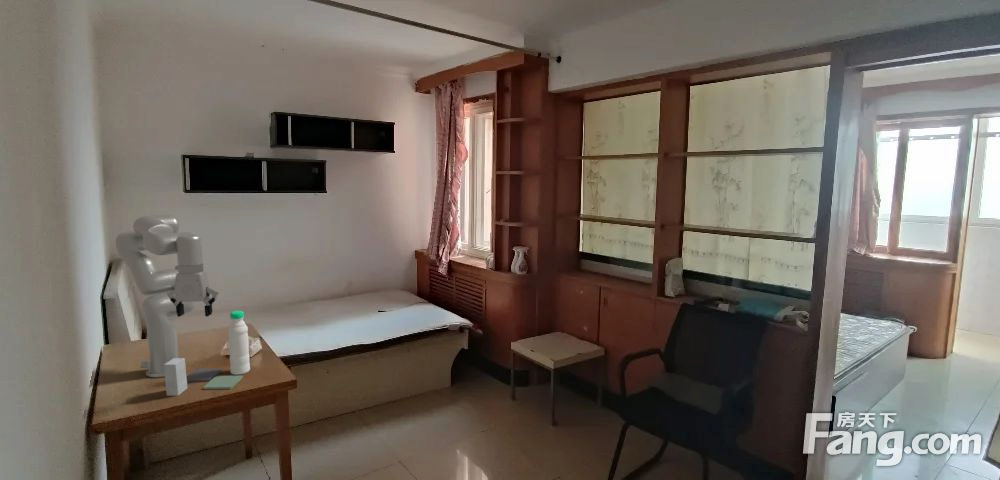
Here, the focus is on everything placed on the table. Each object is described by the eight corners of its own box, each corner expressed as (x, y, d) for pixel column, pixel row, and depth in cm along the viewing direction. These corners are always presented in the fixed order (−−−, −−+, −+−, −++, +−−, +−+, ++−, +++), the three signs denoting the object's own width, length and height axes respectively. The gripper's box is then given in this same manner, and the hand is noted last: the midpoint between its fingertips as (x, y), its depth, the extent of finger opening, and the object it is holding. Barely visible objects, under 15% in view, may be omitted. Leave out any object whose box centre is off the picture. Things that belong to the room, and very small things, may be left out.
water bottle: (254, 370, 196) (250, 311, 192) (238, 376, 190) (234, 315, 186) (242, 366, 199) (238, 308, 195) (226, 373, 193) (222, 313, 189)
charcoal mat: (182, 381, 184) (182, 379, 184) (196, 370, 194) (196, 368, 194) (209, 381, 185) (209, 379, 185) (222, 370, 195) (222, 368, 195)
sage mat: (202, 389, 178) (202, 387, 178) (216, 377, 188) (216, 375, 188) (230, 388, 179) (230, 386, 179) (242, 377, 189) (242, 375, 189)
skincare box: (175, 388, 178) (173, 357, 177) (187, 388, 179) (185, 357, 177) (165, 396, 172) (163, 364, 171) (178, 396, 173) (175, 364, 171)
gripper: (159, 271, 167) (163, 318, 170) (210, 271, 168) (213, 318, 171) (172, 267, 175) (176, 312, 177) (221, 267, 176) (224, 312, 178)
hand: (194, 315), depth 174 cm, fingers open, 9 cm apart
